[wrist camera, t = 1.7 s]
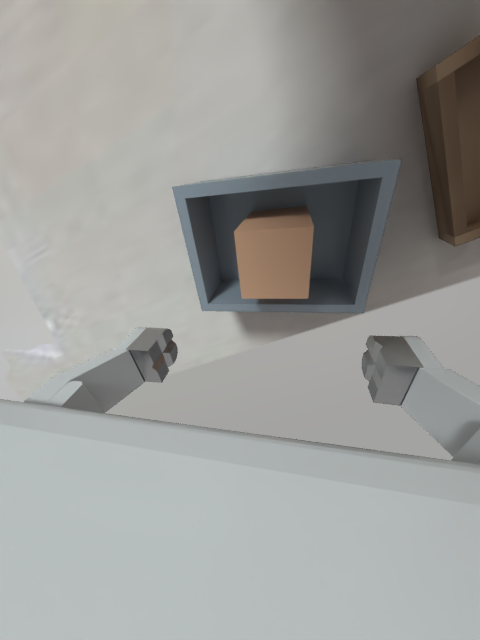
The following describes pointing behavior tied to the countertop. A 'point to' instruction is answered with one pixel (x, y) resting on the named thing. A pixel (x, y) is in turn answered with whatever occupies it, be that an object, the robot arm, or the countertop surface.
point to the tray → (454, 141)
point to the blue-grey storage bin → (328, 237)
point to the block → (275, 253)
